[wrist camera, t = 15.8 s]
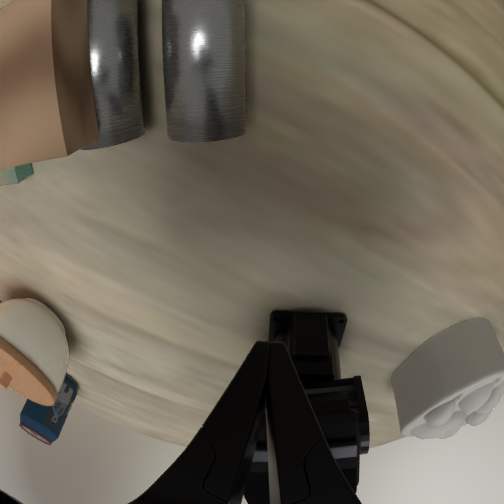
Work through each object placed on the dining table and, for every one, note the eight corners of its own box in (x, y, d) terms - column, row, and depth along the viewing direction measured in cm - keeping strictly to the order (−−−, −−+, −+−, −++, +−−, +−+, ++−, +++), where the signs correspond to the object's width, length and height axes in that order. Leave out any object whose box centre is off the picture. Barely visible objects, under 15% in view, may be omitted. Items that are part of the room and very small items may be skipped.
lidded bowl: (44, 274, 27) (-13, 352, 18) (101, 354, 33) (68, 428, 24) (-6, 283, 29) (-51, 342, 20) (43, 349, 36) (12, 407, 27)
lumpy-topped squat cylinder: (379, 381, 31) (389, 448, 24) (456, 306, 24) (488, 381, 17) (436, 390, 32) (449, 446, 25) (506, 327, 25) (533, 387, 18)
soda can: (44, 372, 41) (17, 426, 31) (45, 358, 38) (14, 419, 28) (77, 393, 43) (53, 449, 33) (82, 381, 39) (55, 444, 30)
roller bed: (250, 162, 19) (241, 188, 15) (-16, 181, 21) (-44, 201, 17) (249, -61, 10) (239, -90, 7) (-36, 43, 12) (-68, 51, 9)
